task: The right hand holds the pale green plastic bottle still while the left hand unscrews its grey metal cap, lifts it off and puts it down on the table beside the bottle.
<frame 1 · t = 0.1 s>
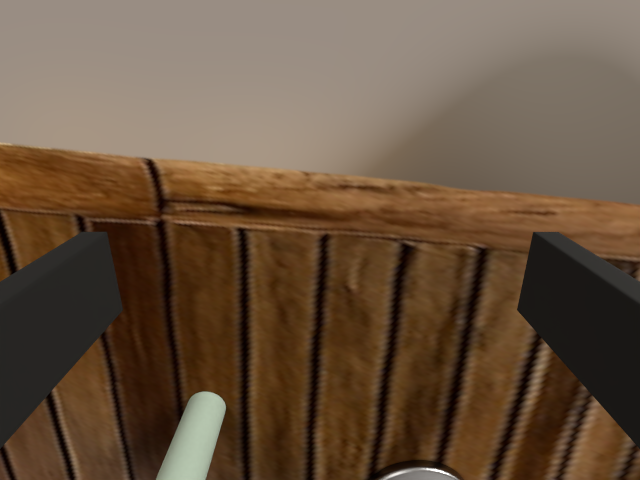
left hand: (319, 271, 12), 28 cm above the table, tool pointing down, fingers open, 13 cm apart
bottle: (207, 406, 50), on the table
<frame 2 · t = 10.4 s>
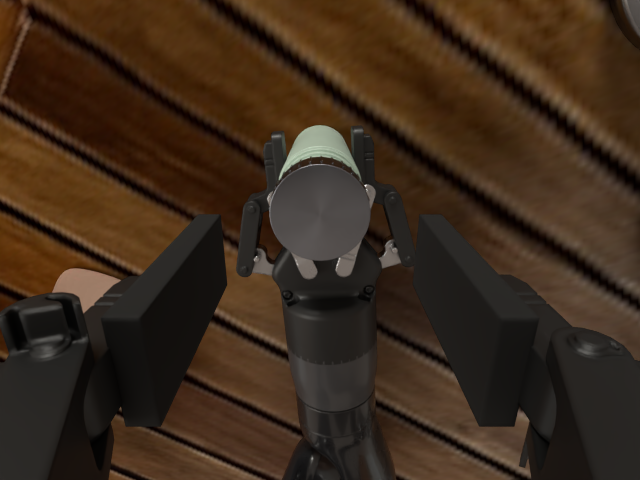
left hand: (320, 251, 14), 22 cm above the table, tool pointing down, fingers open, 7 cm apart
right hand: (316, 130, 27), fingers closed on bottle, 4 cm apart
bottle: (319, 154, 34), on the table, touching right hand
cap: (319, 212, 18), point 17 cm above the table, screwed on, not yet turned
anatomical model: (109, 326, 41), on the table
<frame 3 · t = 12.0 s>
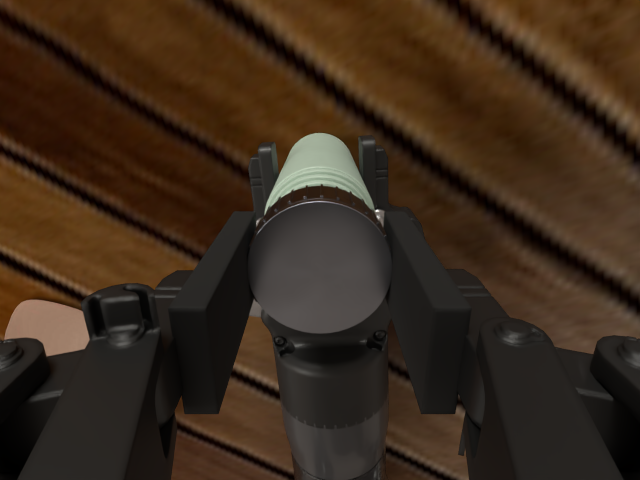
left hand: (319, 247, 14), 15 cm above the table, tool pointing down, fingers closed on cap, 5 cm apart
bottle: (319, 167, 29), on the table, touching right hand
cap: (319, 268, 13), point 17 cm above the table, screwed on, not yet turned, touching left hand
anatomical model: (75, 364, 35), on the table
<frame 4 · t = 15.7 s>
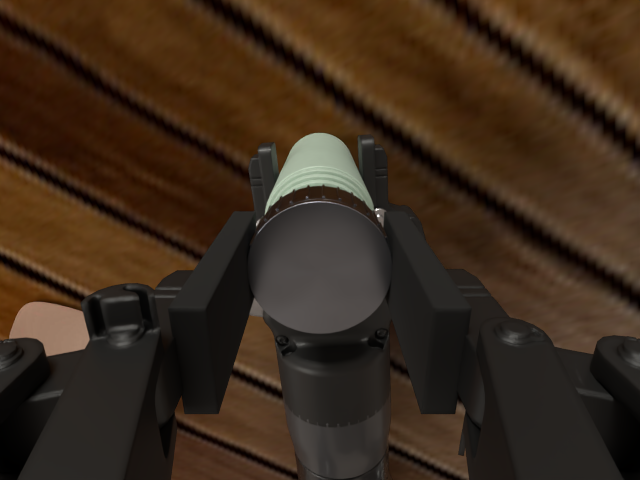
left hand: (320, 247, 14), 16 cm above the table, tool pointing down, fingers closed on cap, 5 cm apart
bottle: (319, 166, 29), on the table, touching right hand
cap: (319, 268, 13), point 17 cm above the table, turned 135° so far, risen 0.1 cm, still on its thread, touching left hand
anatomical model: (79, 366, 35), on the table
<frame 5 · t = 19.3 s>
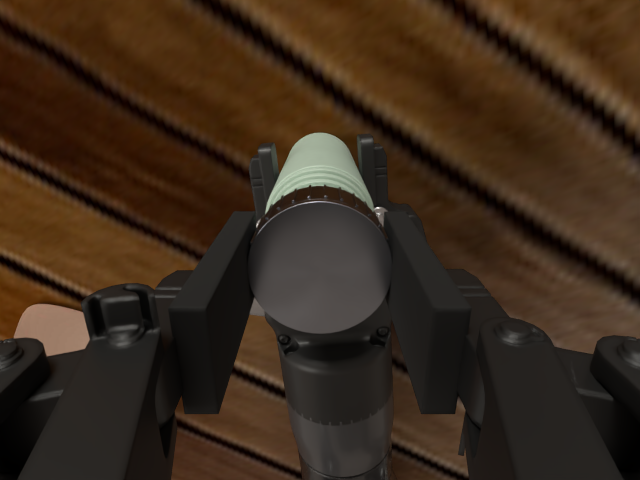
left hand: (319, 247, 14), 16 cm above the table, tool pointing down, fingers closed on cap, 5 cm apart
bottle: (320, 166, 29), on the table, touching right hand
cap: (319, 268, 13), point 17 cm above the table, turned 269° so far, risen 0.2 cm, still on its thread, touching left hand
anatomical model: (83, 367, 35), on the table
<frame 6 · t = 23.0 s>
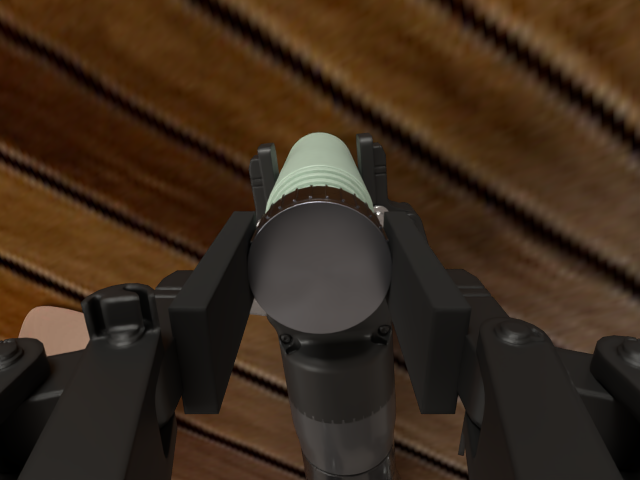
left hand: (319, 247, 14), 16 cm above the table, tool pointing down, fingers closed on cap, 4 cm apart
bottle: (319, 166, 29), on the table, touching right hand
cap: (319, 268, 13), point 18 cm above the table, turned 404° so far, risen 0.4 cm, still on its thread, touching left hand
anatomical model: (87, 368, 36), on the table
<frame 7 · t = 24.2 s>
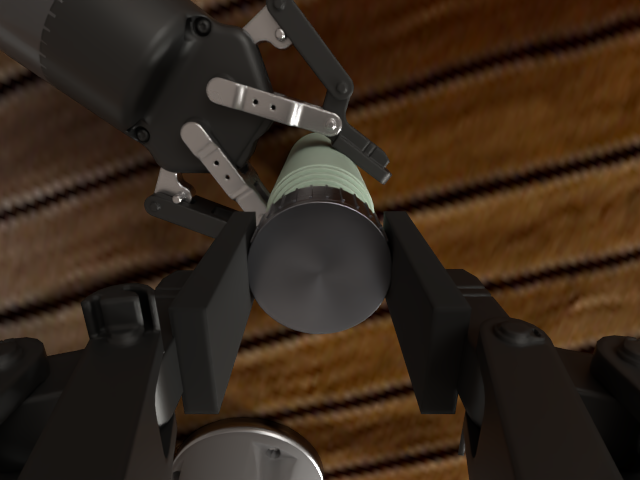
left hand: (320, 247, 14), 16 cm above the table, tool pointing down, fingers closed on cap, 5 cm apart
right hand: (355, 212, 23), fingers closed on bottle, 4 cm apart
bottle: (320, 165, 29), on the table, touching right hand
cap: (319, 268, 13), point 18 cm above the table, off its thread, touching left hand
when the left hand's fingers open (2 cm above the table, at t = 29.1 s): cap drops 2 cm, point 2 cm above the table.
when the right hand's fingers open (7 cm above the table, at t = 30.4 s): bottle stays where it is, on the table.
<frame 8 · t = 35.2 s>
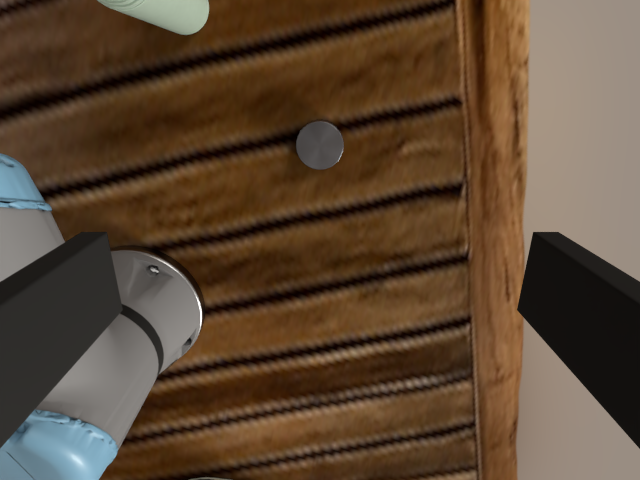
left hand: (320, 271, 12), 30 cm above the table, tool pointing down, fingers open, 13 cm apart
bottle: (182, 5, 36), on the table
cap: (319, 145, 39), point 2 cm above the table, off its thread
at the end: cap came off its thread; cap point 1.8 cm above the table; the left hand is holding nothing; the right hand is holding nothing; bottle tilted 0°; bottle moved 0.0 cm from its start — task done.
